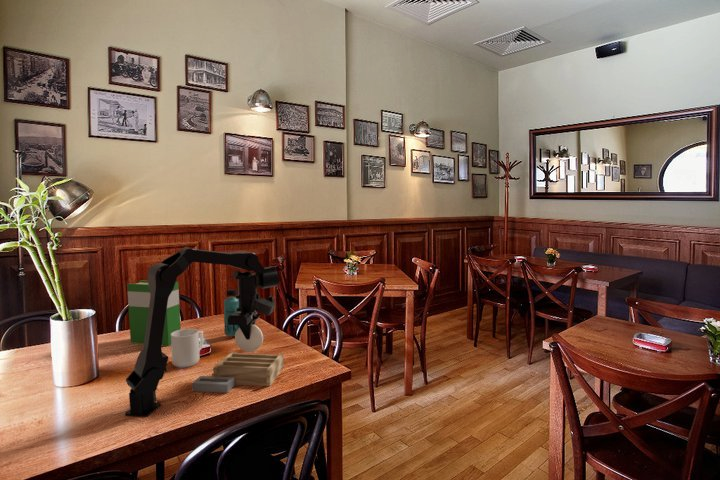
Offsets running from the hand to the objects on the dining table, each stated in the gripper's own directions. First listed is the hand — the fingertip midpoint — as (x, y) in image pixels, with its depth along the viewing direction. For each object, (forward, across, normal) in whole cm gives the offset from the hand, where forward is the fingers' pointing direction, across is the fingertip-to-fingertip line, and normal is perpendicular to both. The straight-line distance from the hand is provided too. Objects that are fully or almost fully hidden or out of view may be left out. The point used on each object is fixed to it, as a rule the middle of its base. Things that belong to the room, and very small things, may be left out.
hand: (248, 338), depth 132 cm
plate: (0, 0, 0) cm, 0 cm away
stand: (+12, -10, +7) cm, 17 cm away
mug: (+12, +9, +25) cm, 30 cm away
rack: (+12, 0, 0) cm, 12 cm away
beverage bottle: (+12, +36, +21) cm, 43 cm away
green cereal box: (+12, +28, +50) cm, 59 cm away
